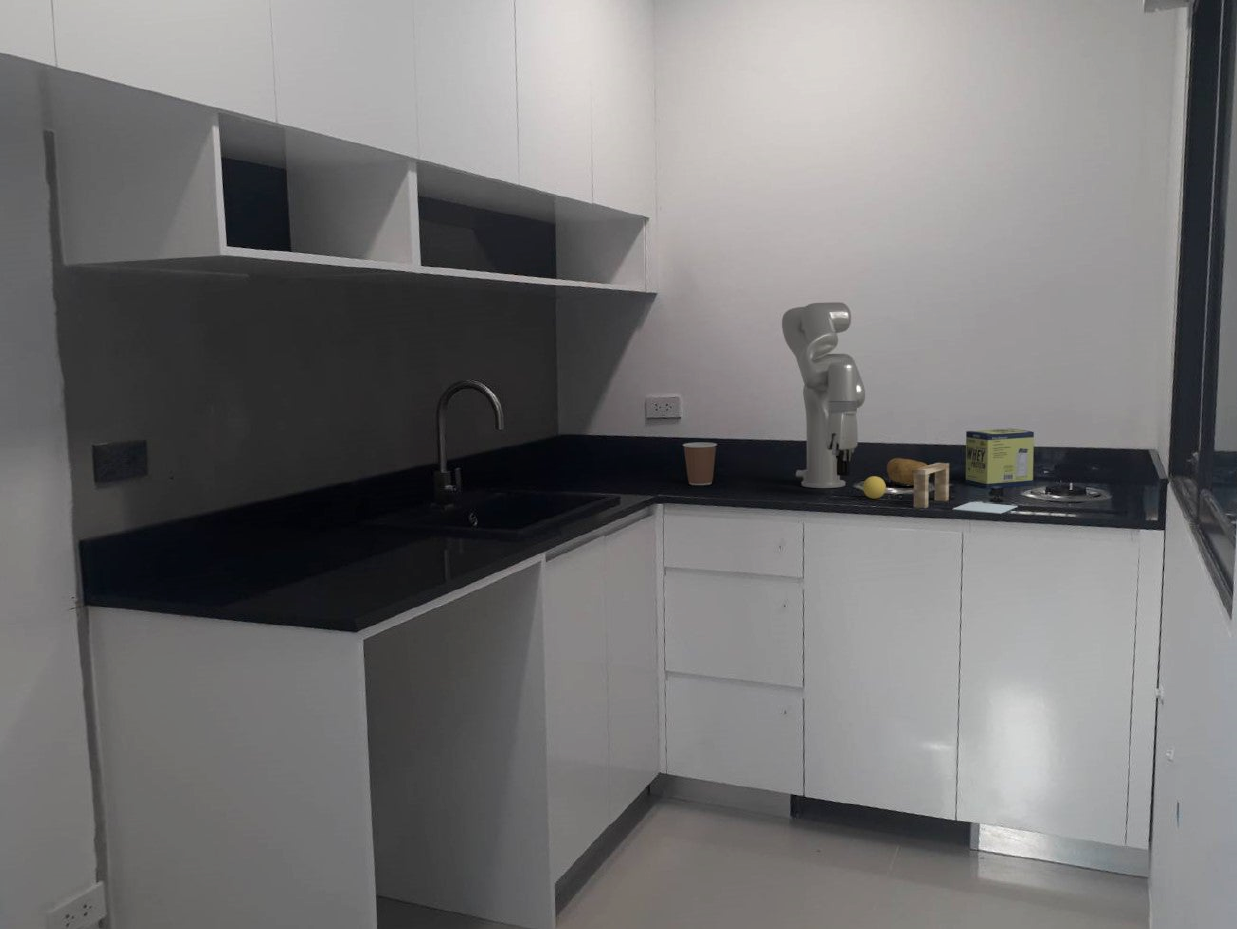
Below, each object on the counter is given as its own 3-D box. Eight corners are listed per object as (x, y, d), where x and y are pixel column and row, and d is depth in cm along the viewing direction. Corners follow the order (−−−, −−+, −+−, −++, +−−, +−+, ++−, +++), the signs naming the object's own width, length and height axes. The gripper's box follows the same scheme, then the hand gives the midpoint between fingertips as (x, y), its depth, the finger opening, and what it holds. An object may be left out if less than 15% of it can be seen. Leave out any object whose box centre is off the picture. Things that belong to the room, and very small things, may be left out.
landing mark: (952, 509, 260) (952, 508, 260) (970, 502, 269) (970, 502, 269) (1000, 513, 253) (1000, 513, 253) (1017, 506, 262) (1017, 505, 262)
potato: (914, 491, 290) (915, 462, 289) (878, 485, 303) (878, 458, 302) (939, 488, 295) (940, 460, 294) (903, 482, 307) (903, 455, 306)
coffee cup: (723, 482, 318) (722, 443, 316) (707, 486, 309) (707, 446, 308) (693, 480, 323) (692, 441, 322) (677, 484, 315) (676, 445, 313)
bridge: (913, 507, 265) (914, 469, 264) (937, 499, 277) (938, 462, 275) (924, 508, 263) (925, 470, 262) (948, 499, 275) (949, 463, 273)
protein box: (964, 484, 301) (965, 430, 299) (1010, 480, 306) (1011, 428, 304) (986, 489, 291) (987, 433, 289) (1034, 485, 296) (1035, 430, 294)
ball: (858, 499, 280) (858, 477, 279) (869, 496, 284) (869, 474, 283) (879, 501, 276) (879, 478, 275) (889, 497, 280) (889, 475, 280)
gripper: (843, 407, 291) (844, 472, 292) (816, 409, 279) (817, 477, 281) (867, 406, 286) (868, 473, 288) (842, 409, 275) (842, 478, 276)
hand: (843, 475), depth 284 cm, fingers closed
